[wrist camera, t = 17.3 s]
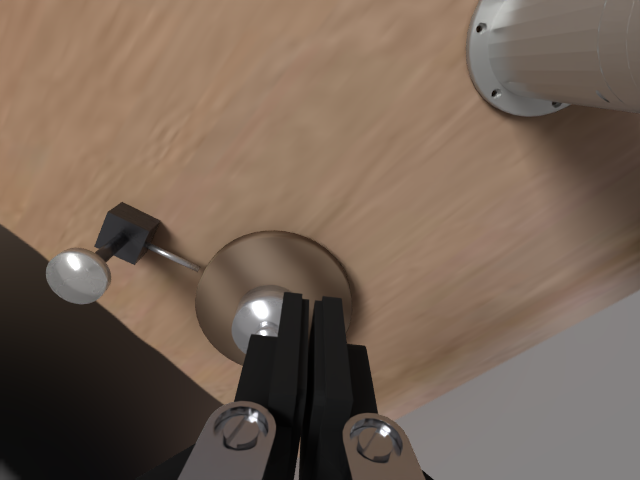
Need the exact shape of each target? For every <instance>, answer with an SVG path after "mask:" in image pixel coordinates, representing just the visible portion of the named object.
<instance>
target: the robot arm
mask: <svg viewBox="0 0 640 480" xmlns="http://www.w3.org/2000/svg"><path fill="white" fill-rule="evenodd" d="M477 26H479V27H480V32H477V31H476V27H477ZM466 60H467V66H468V70H469V74H470V77H471V79H472V81H473V83H474V85H475V88H476V89H477V90H478V92H479V93H480V94H481V96H482V97H483V98H484V99H485V100H486V101H487V102H489V103H490V104H491V105H492V106H493V107H495V108H497V109H499V110H501V111H503V112H506V113H510V114H513V115H519V116H526V117H531V116H542V115H546V114H550V113H554V112H557V111H559V110H561V109H563V108H566V107H568V106H569V105H571V104H574V105H581V106H588V107H595V108H603V109H610V110H617V111H624V112H632V113H639V114H640V0H479V2H478V5H477V7H476V9H475V11H474V13H473V15H472V18H471V22H470V25H469V29H468V32H467V41H466ZM493 90H494V91H495V95H494V96H492V92H493ZM552 102H554V103H553V104H552ZM308 329H309V299H302V294H300V293H291V292H284V295H283V302H282V309H281V316H280V323H279V330H278V337H275V336H266V335H256V334H251V336H250V339H249V343H248V347H247V351H246V356H245V360H244V364H243V368H242V372H241V376H240V380H239V384H238V388H237V392H236V396H235V400H234V402H231V403H229V404H226V405H224V406H221V407H220V408H219V409H218V410H216V411H215V412H213V414H212V415H211V416H210V418H209V419H208V421H207V423H206V425H205V427H204V429H203V431H202V433H201V435H200V437H199V439H198V440H197V443H195V444H194V445H192V446H190V447H189V448H187V449H185V450H184V451H182V452H180V453H178V454H177V455H175V456H173V457H172V458H170V459H168V460H167V461H165V462H163V463H162V464H160V465H158V466H156V467H155V468H154V469H151V470H150V471H148V472H146V473H145V474H143V475H141V476H139V477H138V478H136V479H135V480H294V475H295V468H296V462H297V461H296V460H297V455H298V449H299V442H300V464H299V480H433V479H432V478H431V477H430V476H429V475H427V474H426V473H425V472H424V471H423V470H421V468H420V465H419V463H418V460H417V458H416V456H415V453H414V451H413V449H412V446H411V444H410V441H409V439H408V437H407V435H406V434H405V432H404V430H403V429H402V428H401V427H400V426H399V425H398V424H397V423H396V422H394V421H392V420H391V419H389V418H388V417H385V416H382V415H379V414H378V411H377V405H376V399H375V394H374V388H373V383H372V377H371V372H370V366H369V360H368V355H367V350H366V347H365V346H362V345H352V344H347V341H346V332H345V323H344V314H343V305H342V298H337V297H328V296H323V297H322V301H319V300H315V303H314V309H313V316H312V323H311V329H310V336H309V343H308ZM300 436H301V440H300Z"/></svg>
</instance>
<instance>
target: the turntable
mask: <svg viewBox="0 0 640 480" xmlns="http://www.w3.org/2000/svg"><path fill="white" fill-rule="evenodd" d="M263 285H277V286H281V287H284V288H287V289H288V290H290V291H292V292H293V293H300V294H302V299H309V329H308V343H309V336H310V329H311V323H312V316H313V309H314V303H315V300H319V301H322V297H323V296H328V297H337V298H342V305H343V314H344V323H345V332H347V330H348V327H349V324H350V321H351V315H352V300H351V294H350V287H349V283H348V280H347V277H346V274H345V272H344V270H343V268H342V267H341V265H340V264H339V262H338V261H337V260H336V259H335V257H334V256H333V255H332V254H331V253H330V252H329V251H327V250H326V249H325V248H324V247H323V246H321V245H320V244H318V243H316V242H315V241H313V240H311V239H309V238H307V237H304V236H301V235H298V234H295V233H290V232H286V231H261V232H254V233H251V234H247V235H244V236H242V237H239V238H237V239H235V240H233V241H232V242H230V243H228V244H227V245H225V246H224V247H223V248H222V249H221V250H219V251H218V252H217V254H216V255H215V256H214V257H213V258H212V259H211V261H210V262H209V264H208V265H207V267H206V269H205V271H204V273H203V275H202V277H201V279H200V281H199V284H198V287H197V291H196V298H195V308H196V314H197V318H198V321H199V324H200V327H201V329H202V331H203V333H204V334H205V336H206V337H207V339H208V340H209V342H210V343H211V344H212V345H213V346H214V347H215V348H216V349H217V350H218V351H219V352H220V353H222V354H223V355H224V356H226V357H227V358H229V359H230V360H232V361H234V362H236V363H238V364H240V365H242V366H243V364H244V360H245V356H246V354H245V353H243V352H242V351H241V350H240V349H239V348H238V346H237V345H236V343H235V342H234V339H233V336H232V323H233V320H234V317H235V314H236V311H237V308H238V305H239V302H240V300H241V299H242V297H243V296H244V295H245V294H246V293H247V292H248V291H250V290H252V289H254V288H256V287H259V286H263Z"/></svg>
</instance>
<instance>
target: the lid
mask: <svg viewBox="0 0 640 480" xmlns="http://www.w3.org/2000/svg"><path fill="white" fill-rule="evenodd" d="M284 292H291V293H293V292H292V291H290V290H288V289H287V288H284V287H281V286H277V285H263V286H259V287H256V288H254V289H252V290H250V291H248V292H247V293H246V294H245V295H244V296H243V297H242V299H241V300H240V302H239V305H238V308H237V311H236V314H235V317H234V320H233V323H232V336H233V339H234V342H235V343H236V345H237V346H238V348H239V349H240V350H241V351H242V352H243V353H245V354H246V351H247V347H248V343H249V339H250V336H251V334H256V335H266V336H275V337H278V330H279V323H280V316H281V309H282V302H283V295H284Z"/></svg>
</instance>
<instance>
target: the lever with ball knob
mask: <svg viewBox="0 0 640 480" xmlns="http://www.w3.org/2000/svg"><path fill="white" fill-rule="evenodd" d="M159 223H160V220H158V219H156V218H154V217H152V216H150V215H148V214H146V213H143V212H141V211H139V210H137V209H135V208H133V207H131V206H129V205H127V204H125V203H123V202H121V203H120V204H118V205H117V206H116V207H114V208H113V209H111V210H110V211H108V213H107V215H106V218H105V220H104V223H103V225H102V228H101V231H100V233H99V236H98V238H97V241H96V244H95V246H94V247H96V248H99V250H97V251H96V252H95V253H94V252H92V251H90V250H87V249H84V248H70V249H66V250H64V251H62V252H61V253H60V254H58V255H57V256H55V257H54V258H53V259H52V260H51V261H50V262H49V263H48V266H47V269H46V278H47V281H48V283H49V285H50V287H51V288H52V290H53V291H54V292H55V293H56V294H57V295H58V296H60V297H62V298H63V299H65V300H67V301H69V302H72V303H77V304H86V303H91V302H94V301H96V300H97V299H99V298H100V297H101V296H102V294H103V293H104V292H105V291H106V290H107V289H108V288H109V286H110V283H111V273H110V269H109V267H108V265H107V264H106V262H107V261H108V260H109V259H110V258H111V257H113V256H116V257H118V258H120V259H123V260H125V261H127V262H129V263H131V264H134V265H135V264H136V263H137V262H138V261H139V260H140V259H141V258H142V256H143V255H144V254H145V253H146V252H147V250H148V249H149V250H151V251H153V252H156V253H158V254H160V255H162V256H164V257H166V258H168V259H170V260H173V261H175V262H177V263H179V264H181V265H183V266H185V267H188V268H190V269H192V270H194V271H196V272H198V270H199V268H200V266H198V265H195V264H193V263H191V262H189V261H187V260H185V259H183V258H181V257H179V256H176V255H174V254H172V253H170V252H168V251H166V250H164V249H162V248H159V247H157V246H155V245H153V244H151V241H152V238H153V236H154V234H155V232H156V229H157V227H158V225H159Z"/></svg>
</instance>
